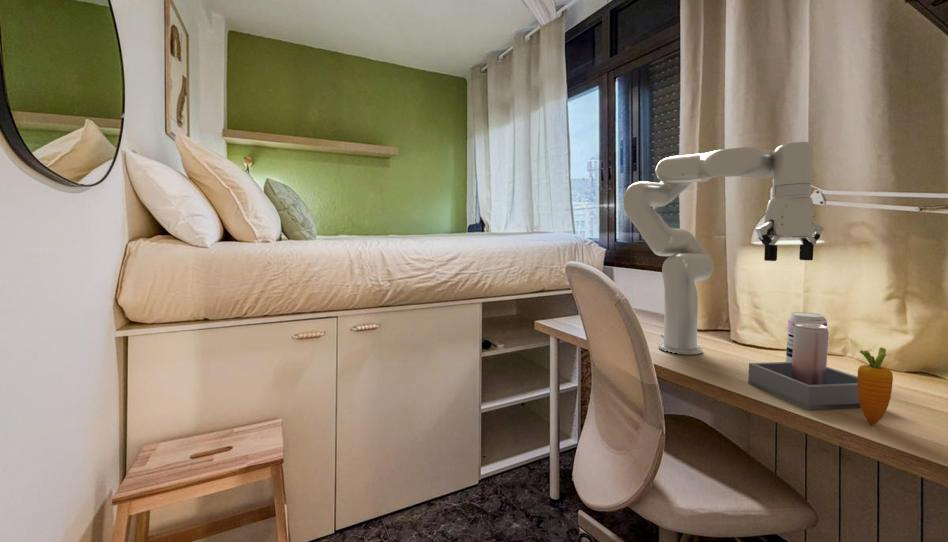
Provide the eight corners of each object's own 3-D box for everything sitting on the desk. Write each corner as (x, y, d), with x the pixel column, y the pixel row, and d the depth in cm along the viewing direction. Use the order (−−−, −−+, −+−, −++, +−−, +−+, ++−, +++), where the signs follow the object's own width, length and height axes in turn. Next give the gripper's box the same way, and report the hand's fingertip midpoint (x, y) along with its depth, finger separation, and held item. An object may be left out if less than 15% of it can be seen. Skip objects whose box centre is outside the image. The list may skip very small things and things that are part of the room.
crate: (748, 382, 96) (749, 363, 95) (808, 380, 97) (809, 361, 97) (808, 410, 80) (809, 387, 80) (879, 407, 81) (880, 384, 81)
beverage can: (787, 382, 93) (791, 321, 91) (820, 387, 90) (824, 324, 89) (793, 391, 87) (797, 326, 86) (828, 396, 84) (833, 329, 83)
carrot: (861, 428, 72) (866, 350, 71) (848, 417, 77) (852, 343, 76) (897, 433, 70) (902, 352, 69) (881, 421, 75) (886, 345, 74)
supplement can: (830, 369, 105) (833, 315, 104) (815, 374, 101) (818, 318, 100) (795, 361, 112) (797, 311, 111) (779, 366, 108) (782, 313, 107)
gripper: (809, 195, 102) (806, 259, 103) (747, 195, 101) (745, 260, 102) (837, 191, 94) (834, 260, 95) (771, 191, 93) (768, 261, 94)
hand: (788, 260), depth 99 cm, fingers open, 9 cm apart
